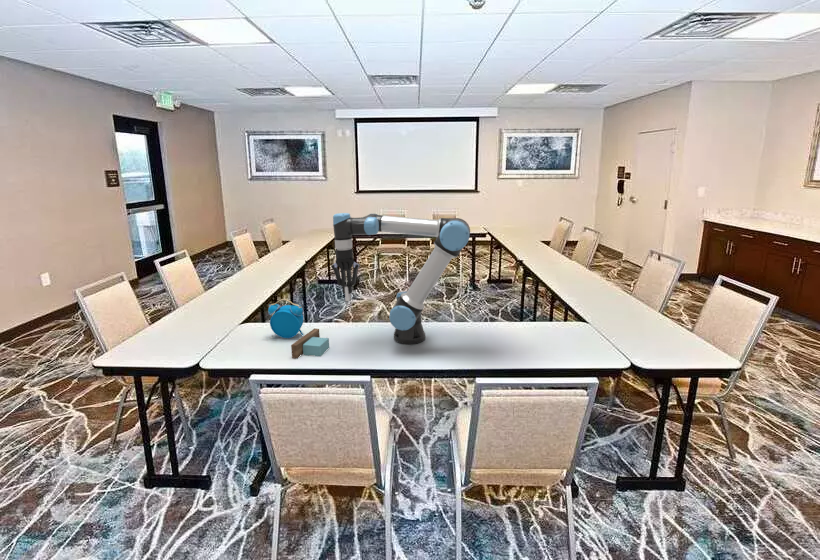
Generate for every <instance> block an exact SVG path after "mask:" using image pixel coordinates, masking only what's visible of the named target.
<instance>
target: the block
mask: <svg viewBox="0 0 820 560" xmlns="http://www.w3.org/2000/svg"><path fill="white" fill-rule="evenodd" d="M328 348H329V349H330V338H329V337H328V338H327V337H320V338H319V337H312V338H311V339H309V340H308V341H307V342H306V343H304V344H303V354H304V355H303V354H302V355H303V356H309V355H315V356H314V357H321V356H322V355H324V354H325V353H326V352H327V351H328V350H329V349H328ZM327 349H328V350H327ZM326 350H327V351H326ZM325 351H326V352H325ZM324 352H325V353H324Z"/></svg>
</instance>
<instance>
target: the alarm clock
mask: <svg viewBox="0 0 820 560" xmlns="http://www.w3.org/2000/svg"><path fill="white" fill-rule="evenodd" d="M280 301H287V302H289V303H290V304H291V305H290V304H288V305H282V306H281V305H280V304H278V303H279V302H280ZM303 310H304V309H303V307H302V305H301V304H297V303H293V302H292V301H291V300H288V299H286V298H282V299H279V300H278V301H276V302H275V303H272V304H268V309H267V313H268V315H269V316H271V317H270V319H269V326H270V329H271V330H272V332H273V334H275V335H276V336H278V337H280V338H282V339H292V338H294V337H295V336H297V335H298V333H300V335H301V336H302V335H303V336H304V333H303V332H302V330H301V328H302V326H303V324H304V315H303Z"/></svg>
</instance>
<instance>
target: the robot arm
mask: <svg viewBox="0 0 820 560" xmlns="http://www.w3.org/2000/svg"><path fill="white" fill-rule="evenodd" d="M332 221H333V222H332V223H333V224H332V227H333V233H334V234H333V235H334V248H335V249H336V250H335V258H336V260H335V262H334V263H333V264H331V265H330V268H331V269H332V271H333V272H334V276H335V279H336V282H337V284H338V286H341V287H342V293H343V294H344V296H345V297H344V298H345V302H350V301H351V300H352V299H351V298H352V297H351V296H352V295H351V294H352V293H353V286H355V285H356V284H357V278H358V270H359V268H360V266H361V264H360V263H357V262H355V259H354V249H353V237H352V236H360V235H361V236H371V235H377V234H379V232H380V233H381V232H382V233H394V234H403V235H414V236H424V237H435V238H436V239H435V240H434V241H433V244H434V248H433V250H432V251H431V253H430V255H429V256H428V258H427V259H426V261H425V262H424V264H423V266H422V268H421V269H420V271H419V272H418V274H417V275H416V277H415V279H414V280H413V282H412V283H411V285H410V286H409V288H408V289H407V290H406V291H399V292H397V293H396V296H395V297H396V303H395V304H394V305H393V307H392V308H391V309H390V311H389V316H388V317H389V322H390V324H391V325H392V327H393V328H394V332H393V340H394V342H396V343H399V344H403V345H404V344H405V345H413V344H414V345H416V344H420V343H422V342H424V341H425V340H426V333H425V330H424V327H423V324H422V312H423V310H424V309H425V306H424V303H425V301H426V300H427V297H429V295H430V293H431V292H432V291H433V288H434V286H435V285H436V284H437V282H439V281H438V280H439V279H441V276H442V274H443V273H444V271H445V270H446V268H447V267H448V265H449V264H450V262H451V260H452V259H455V258H458V256H459V255H460V253H461V251H462V250H463V248H465V246H466V245H467V244H468V242H469V240H470V235H471V228H470V225H469V223H468V222H467V221H466V220H464V219H462V218H461V217H460V218H459V217H454V218H453V217H452V218H450V217H449V218H448V217H447V218H444V217H440V218H438V219H432V218H431V219H429V218H420V217H419V218H418V217H407V216H406V217H405V216H395V215H382V214H377V213H369V214H367V215H365V216H363V217H352V216H351V214H350V213H349V212H341V213H339V212H338V213H334V214H333V216H332ZM352 267H353V271H352ZM339 270H340V271H339Z"/></svg>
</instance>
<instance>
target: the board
mask: <svg viewBox="0 0 820 560" xmlns="http://www.w3.org/2000/svg"><path fill="white" fill-rule="evenodd" d="M320 336H321V335H320V328H313V329H311V330H310V331H309V332H307V333H306V334H304V335H303V336H302V337H300V338H299V339H297V340H296V341H295V342H293V343H292V344H291V345H290V348H291V358H292V359H296V358H297V359H299V358H300V357H301V356H302V355H303V344H304V343H306V342H307V341H308V340H309V339H311V338H312V337H319V338H321V337H320ZM300 355H301V356H300ZM299 356H300V357H299ZM298 357H299V358H298Z"/></svg>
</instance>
